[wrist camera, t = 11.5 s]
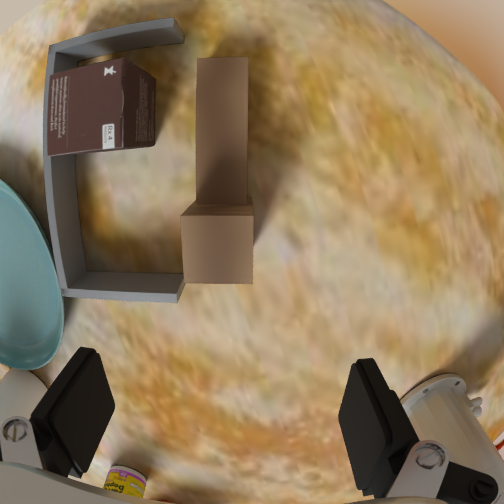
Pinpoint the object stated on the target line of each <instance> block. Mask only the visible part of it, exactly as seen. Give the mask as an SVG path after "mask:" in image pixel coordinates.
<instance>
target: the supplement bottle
mask: <svg viewBox="0 0 504 504" xmlns="http://www.w3.org/2000/svg"><path fill="white" fill-rule="evenodd" d="M145 487H146V479H145V477H144V476H143V475H142V474H140V473H139V472H137V471H135V470H133V469H131V468H128V467H124V466H113V467H111V468H110V470H109V472H108V475H107V478H106V481H105V484H104V487H103V489H106V490H110V491H114V492H118V493H122V494H126V495H130V496H135V497H140V498H143V495H144V491H145Z"/></svg>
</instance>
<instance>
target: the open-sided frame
mask: <svg viewBox="0 0 504 504" xmlns="http://www.w3.org/2000/svg"><path fill="white" fill-rule="evenodd" d="M179 43H184V34H183V32H182V30H181V29H180V27H179V25H178V24H177V22H176V20H175V19H174V18H165V19H158V20H151V21H145V22H139V23H133V24H128V25H123V26H118V27H114V28H109V29H105V30H101V31H97V32H93V33H89V34H85V35H82V36H78V37H75V38H72V39H68V40H65V41H62V42H59V43H56V44H53V45H50V46H49V52H48V60H47V68H46V78H45V91H44V110H43V160H44V179H45V192H46V203H47V212H48V220H49V228H50V235H51V241H52V247H53V253H54V259H55V264H56V269H57V274H58V279H59V284H60V288H61V293H62V296H64V297H76V298H90V299H104V300H121V301H139V302H162V303H178V300H179V298H180V296H181V293H182V291H183V289H184V286H185V284H186V283H184V274H171V273H128V272H95V271H87V268H86V262H85V256H84V249H83V242H82V235H81V227H80V218H79V209H78V197H77V184H76V166H75V154H73V155H63V156H52V157H49V156H48V155H47V113H48V93H49V80H50V75H52V74H55V73H59V72H62V71H66V70H70V69H74V68H78V61H81V60H85V59H89V58H93V57H97V56H102V55H107V54H111V53H117V52H122V51H127V50H133V49H139V48H146V47H153V46H161V45H169V44H179Z"/></svg>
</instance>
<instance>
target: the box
mask: <svg viewBox="0 0 504 504" xmlns="http://www.w3.org/2000/svg"><path fill="white" fill-rule="evenodd" d="M155 88H156V79H155V78H154V77H152V76H151V75H149V74H148V73H146V72H145V71H144V70H142V69H140V68H139V67H138V66H136V65H134V64H133V63H132V62H131V61H128V60H127V59H126V58H119V59H114V60H108V61H104V62H99V63H95V64H90V65H86V66H82V67H78V68H74V69H70V70H66V71H62V72H59V73H55V74H52V75H50V80H49V93H48V113H47V155H48V156H49V157H52V156H63V155H73V154H83V153H94V152H105V151H114V150H124V149H134V148H144V147H152V146H154V145H155Z"/></svg>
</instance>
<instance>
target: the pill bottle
mask: <svg viewBox="0 0 504 504" xmlns="http://www.w3.org/2000/svg"><path fill="white" fill-rule="evenodd" d="M47 390H48V389H47V388H46V386H45V385H44V384H43V383H42V382H41V380H40V379H38V378H37V377H36V376H35V375H34V374H33V373H31V372H30V371H28V370H19V369H14V368H11V369H10V370H9V371H8V372H7V373H6V375H5V376H4V377H3V378H2V379H1V381H0V427H1V425H2V424H3V422H4V421H5V420H7V419H8V418H11V417H14V416H21V417H24V418H26V419H28V420H29V419H30V417H31V413H32V412H33V410H34V409H35V407H36V406H37V405H38V403H39V402H40V400H41V399H42V397H43V396H44V395H45V393H46V392H47Z"/></svg>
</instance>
